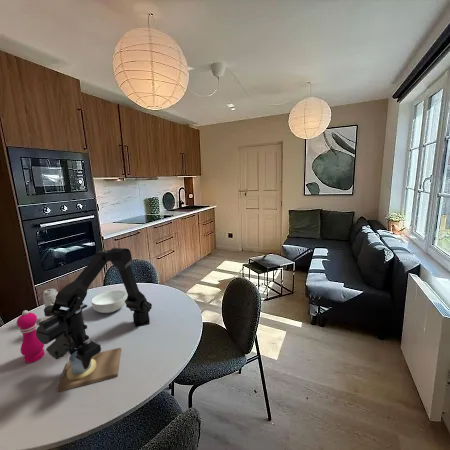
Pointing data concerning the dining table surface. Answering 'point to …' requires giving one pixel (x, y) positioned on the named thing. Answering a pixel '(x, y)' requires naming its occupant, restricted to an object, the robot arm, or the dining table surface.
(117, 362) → the base
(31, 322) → the pepper mill
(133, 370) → the dining table surface
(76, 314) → the robot arm
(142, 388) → the dining table surface
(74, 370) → the cap
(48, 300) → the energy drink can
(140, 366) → the dining table surface
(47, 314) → the medicine bottle
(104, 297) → the cereal bowl
